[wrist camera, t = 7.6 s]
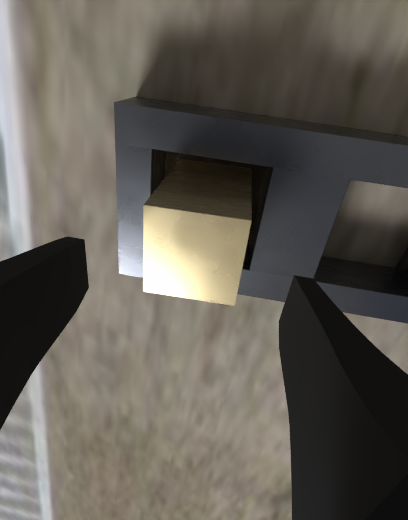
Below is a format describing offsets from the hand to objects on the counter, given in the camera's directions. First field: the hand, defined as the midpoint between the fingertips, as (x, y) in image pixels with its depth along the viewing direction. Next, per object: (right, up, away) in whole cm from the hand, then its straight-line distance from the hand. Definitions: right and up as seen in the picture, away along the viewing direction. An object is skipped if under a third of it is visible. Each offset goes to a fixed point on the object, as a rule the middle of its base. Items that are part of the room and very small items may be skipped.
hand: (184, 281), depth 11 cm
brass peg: (+1, +4, +8) cm, 9 cm away
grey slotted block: (+5, +4, +7) cm, 10 cm away
